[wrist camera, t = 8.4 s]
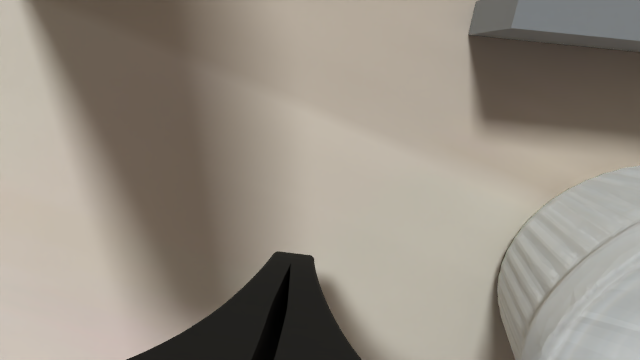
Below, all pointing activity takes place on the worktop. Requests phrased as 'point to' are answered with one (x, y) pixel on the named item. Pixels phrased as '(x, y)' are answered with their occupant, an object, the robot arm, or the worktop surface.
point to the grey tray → (561, 22)
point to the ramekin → (577, 274)
